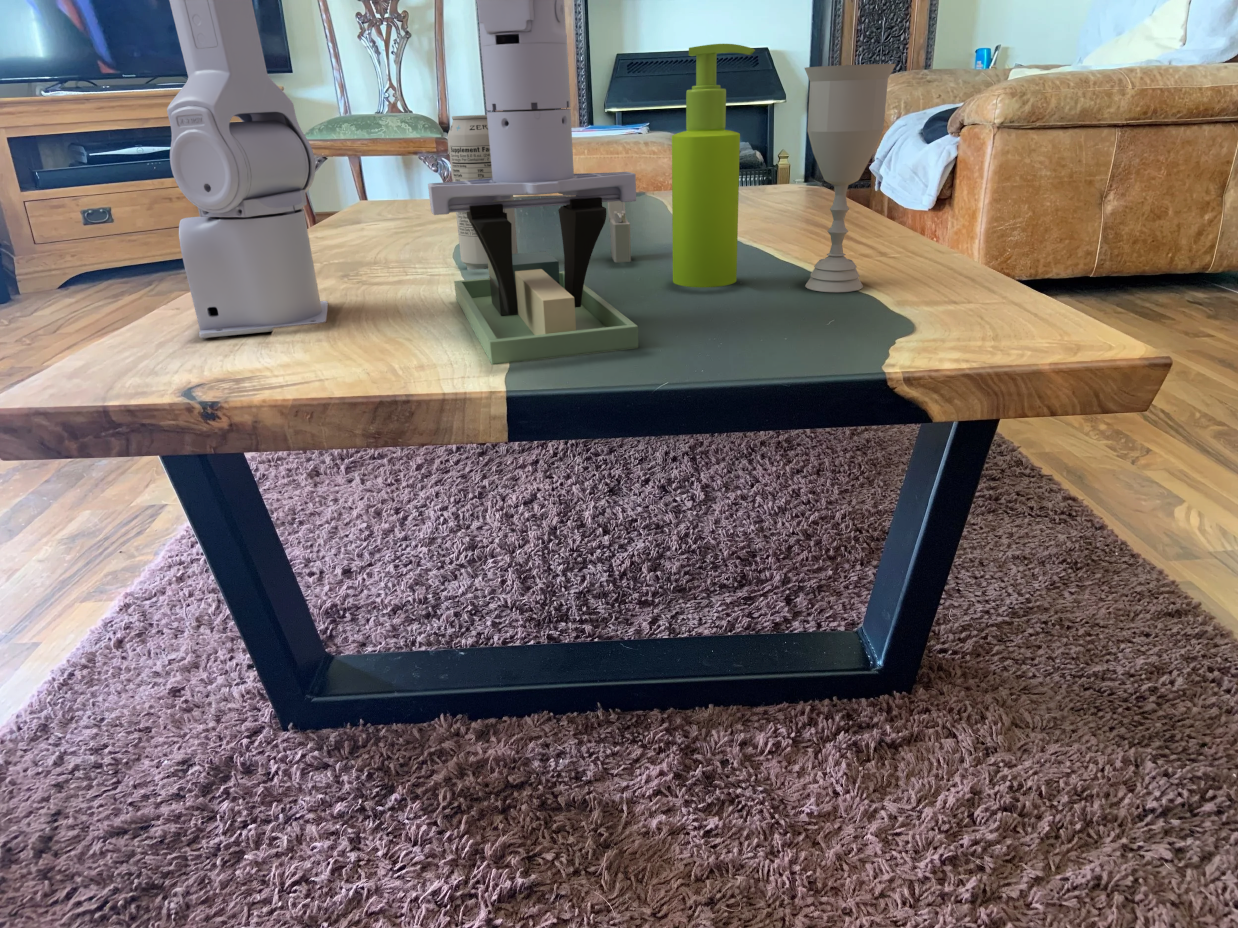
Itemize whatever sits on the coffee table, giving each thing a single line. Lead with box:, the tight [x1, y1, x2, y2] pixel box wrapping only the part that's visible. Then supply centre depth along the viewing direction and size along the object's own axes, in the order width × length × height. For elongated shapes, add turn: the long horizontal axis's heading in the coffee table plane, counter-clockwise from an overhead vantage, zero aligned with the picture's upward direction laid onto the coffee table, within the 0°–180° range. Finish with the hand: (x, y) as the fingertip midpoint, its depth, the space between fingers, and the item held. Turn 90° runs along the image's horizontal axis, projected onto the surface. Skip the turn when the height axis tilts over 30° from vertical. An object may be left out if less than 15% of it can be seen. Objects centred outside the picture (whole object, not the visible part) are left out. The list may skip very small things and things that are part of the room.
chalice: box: [804, 63, 897, 293], centre depth 72 cm, size 7×7×18 cm
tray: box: [453, 270, 639, 366], centre depth 65 cm, size 21×10×2 cm, turn 17°
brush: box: [487, 250, 576, 335], centre depth 64 cm, size 16×5×4 cm, turn 16°
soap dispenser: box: [671, 43, 756, 288], centre depth 73 cm, size 6×7×20 cm
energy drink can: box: [447, 114, 519, 271], centre depth 86 cm, size 6×6×15 cm
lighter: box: [607, 201, 632, 263], centre depth 89 cm, size 7×2×8 cm, turn 6°
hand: (542, 307), depth 62 cm, fingers open, 4 cm apart
